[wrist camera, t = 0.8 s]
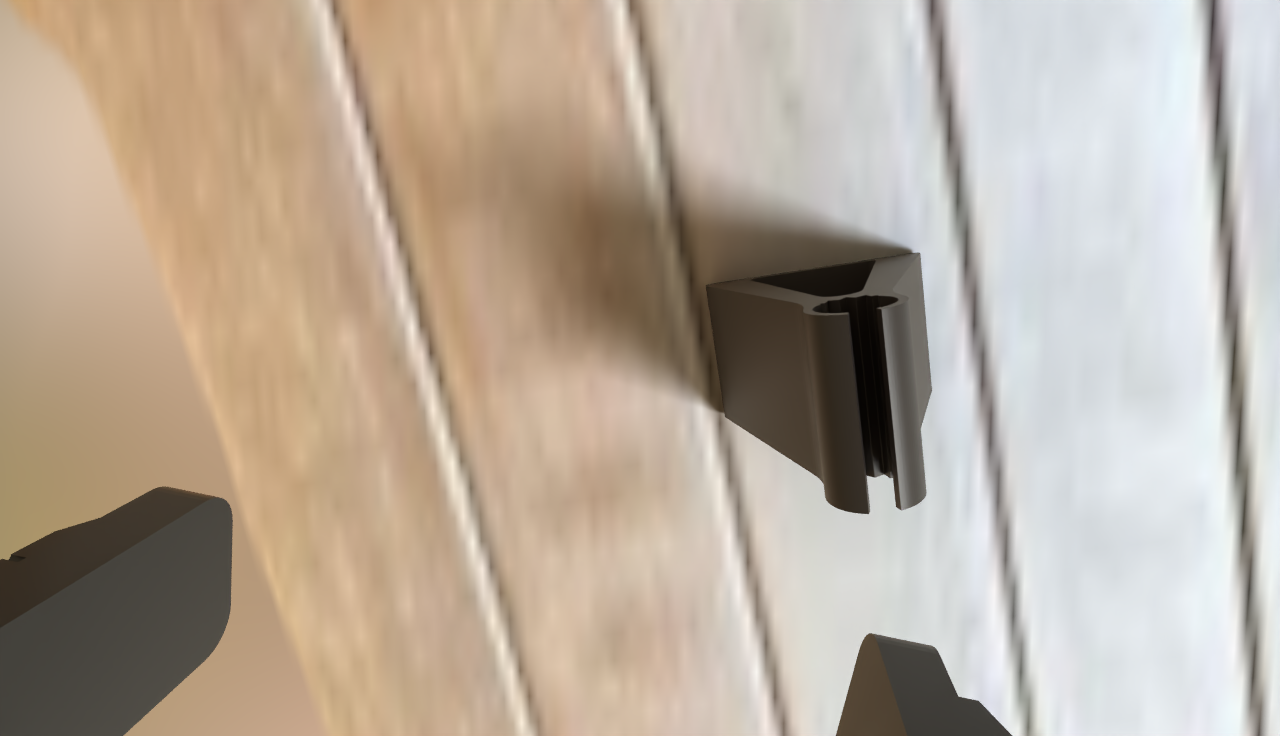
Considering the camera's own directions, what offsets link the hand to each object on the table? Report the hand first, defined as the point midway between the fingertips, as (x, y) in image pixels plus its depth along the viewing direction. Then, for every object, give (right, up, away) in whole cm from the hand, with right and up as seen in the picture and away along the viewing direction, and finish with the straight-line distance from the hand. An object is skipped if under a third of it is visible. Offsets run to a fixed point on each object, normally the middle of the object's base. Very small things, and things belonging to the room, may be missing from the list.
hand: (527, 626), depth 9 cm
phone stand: (+9, +5, +24) cm, 26 cm away
